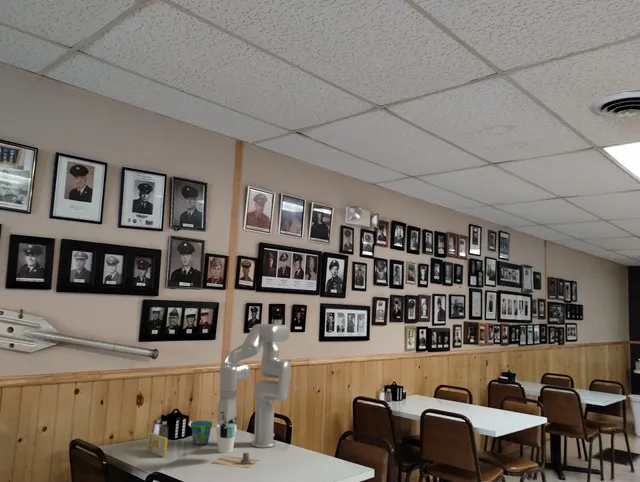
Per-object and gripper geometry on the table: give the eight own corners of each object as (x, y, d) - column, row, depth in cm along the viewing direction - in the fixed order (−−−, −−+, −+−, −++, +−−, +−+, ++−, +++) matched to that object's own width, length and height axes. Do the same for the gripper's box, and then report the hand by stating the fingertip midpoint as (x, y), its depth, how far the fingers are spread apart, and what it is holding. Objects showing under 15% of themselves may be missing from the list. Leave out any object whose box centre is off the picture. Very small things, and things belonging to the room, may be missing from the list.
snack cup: (211, 447, 257) (212, 425, 259) (189, 448, 255) (190, 426, 256) (210, 439, 273) (211, 419, 274) (189, 440, 270) (190, 419, 271)
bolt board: (223, 459, 238) (223, 446, 239) (259, 463, 233) (260, 450, 233) (210, 466, 227) (210, 453, 227) (248, 471, 221) (248, 458, 222)
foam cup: (218, 457, 240) (219, 428, 242) (212, 452, 248) (213, 424, 250) (238, 455, 245) (239, 426, 246) (231, 450, 253) (233, 422, 254)
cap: (224, 433, 237) (224, 422, 238) (236, 435, 236) (236, 423, 236) (217, 437, 231) (217, 426, 232) (230, 439, 230) (230, 427, 230)
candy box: (167, 457, 240) (168, 438, 241) (162, 457, 238) (163, 439, 239) (150, 449, 251) (151, 431, 252) (146, 450, 250) (147, 432, 251)
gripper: (229, 389, 244) (228, 429, 243) (211, 397, 228) (210, 439, 226) (244, 390, 242) (243, 430, 241) (226, 398, 226) (225, 441, 224)
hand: (227, 434), depth 234 cm, fingers closed on cap, 6 cm apart
